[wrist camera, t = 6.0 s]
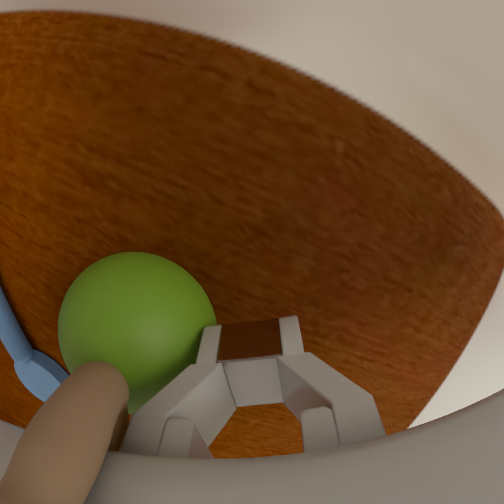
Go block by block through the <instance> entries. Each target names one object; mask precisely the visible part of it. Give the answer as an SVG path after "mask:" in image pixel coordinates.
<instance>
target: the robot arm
mask: <svg viewBox="0 0 504 504" xmlns="http://www.w3.org/2000/svg"><path fill="white" fill-rule="evenodd" d="M283 402H284V405H285V406H286V407H287V408H288V409H289V410H290V411H291V412H292V413H293V415H294V416H295V417H296V418H297V419H298V420H299V421H300V422H301V428H302V440H303V453H297V454H289V455H280V456H270V457H256V458H236V459H214V457H213V455H212V454H211V452H210V450H209V449H208V447H209V445H210V444H211V443H212V441H213V440H214V439H215V437H216V436H217V435H218V433H219V432H220V431H221V429H222V428H223V427H224V425H225V424H226V423H227V421H228V420H229V418H230V417H231V416H232V414H233V413H234V412H235V410H236V409H237V408H236V407H241V406H251V405H259V404H272V403H283ZM24 431H25V429H24V428H21V427H18V426H16V425H13V424H10V423H7V422H5V421H2V420H0V481H1V479H2V478H3V476H4V474H5V472H6V470H7V467H8V465H9V462H10V460H11V457H12V455H13V453H14V450H15V448H16V446H17V444H18V442H19V440H20V438H21V436H22V434H23V432H24ZM84 504H504V389H502V390H500V391H498V392H496V393H494V394H493V395H491V396H489V397H487V398H485V399H482V400H480V401H478V402H476V403H474V404H472V405H469V406H467V407H465V408H463V409H460V410H458V411H456V412H453V413H451V414H449V415H446V416H443V417H441V418H438V419H435V420H433V421H430V422H427V423H424V424H421V425H418V426H416V427H412V428H409V429H406V430H403V431H400V432H396V433H393V434H390V435H386V434H385V431H384V428H383V425H382V422H381V419H380V416H379V413H378V410H377V407H376V404H375V402H374V399H373V396H372V395H371V394H370V393H368V392H367V391H365V390H364V389H362V388H361V387H359V386H358V385H356V384H355V383H353V382H352V381H351V380H349V379H348V378H346V377H345V376H343V375H342V374H340V373H339V372H338V371H336V370H335V369H333V368H332V367H330V366H329V365H328V364H326V363H325V362H323V361H322V360H320V359H319V358H318V357H316V356H315V355H313V354H312V353H311V352H305V353H304V348H303V343H302V338H301V333H300V328H299V323H298V318H297V316H296V315H293V316H287V317H281V318H279V320H278V319H272V320H265V321H255V322H245V323H235V324H224V325H214V326H206V327H205V328H204V329H203V333H202V337H201V342H200V346H199V350H198V355H197V359H196V364H191V365H189V366H188V367H187V368H186V369H185V370H184V371H182V372H181V373H180V374H179V375H178V376H177V377H176V378H174V379H173V380H172V381H171V382H170V383H169V384H168V385H166V386H165V387H164V388H163V389H162V390H161V391H159V392H158V393H157V394H156V395H155V396H154V397H152V398H151V399H150V400H149V401H148V402H146V403H145V404H144V405H143V406H142V407H140V408H139V409H138V410H137V411H136V412H134V413H133V414H132V416H131V419H130V422H129V425H128V428H127V431H126V433H125V436H124V439H123V442H122V445H121V448H120V451H119V452H118V451H112V450H107V453H106V456H105V458H104V461H103V464H102V466H101V468H100V471H99V473H98V475H97V478H96V480H95V482H94V484H93V486H92V488H91V490H90V492H89V494H88V496H87V498H86V500H85V502H84Z"/></svg>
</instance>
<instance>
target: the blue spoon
mask: <svg viewBox="0 0 504 504" xmlns="http://www.w3.org/2000/svg"><path fill="white" fill-rule="evenodd" d="M0 339H1V341H2V343H3V344H4V346H5V348H6V349H7V351H8V353H9V354H10V356H11V357H12V359H13V360H14V362H15V363H14V367H15V371H16V373H17V375H18V377H19V379H20V380H21V382H22V383H23V384H24V386H25V387H26V388H27V389H28V390H29V391H30V392H31V393H32V394H34V395H35V396H36V397H37V398H39V399H40V400H42V401H44V402H45V401H46V400H47V399H48V398H49V397H50V396H51V395H52V393H53V392H54V391H55V390H56V389H57V388H58V387H59V386H60V384H61V383H62V382H63V381H64V380H65V379H66V378H67V377H68V376H69V375H68V374H67V373H66V371H65V370H64V369H63V368H62V367H61V366H60V365H59V364H58V363H57V362H55V361H54V360H53V359H52V358H50V357H49V356H47V355H46V354H44V353H42V352H40V351H37V350H34V349H33V348H32V346H31V345H30V343H29V341H28V339H27V338H26V336H25V334H24V332H23V330H22V329H21V327H20V325H19V323H18V321H17V319H16V317H15V315H14V313H13V311H12V309H11V307H10V305H9V303H8V301H7V299H6V297H5V295H4V292H3V290H2V288H1V286H0Z"/></svg>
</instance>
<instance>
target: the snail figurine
mask: <svg viewBox="0 0 504 504" xmlns="http://www.w3.org/2000/svg"><path fill="white" fill-rule="evenodd" d="M214 325H217V321H216V317H215V313H214V310H213V307H212V305H211V303H210V300H209V298H208V297H207V295H206V293H205V291H204V290H203V288H202V287H201V286H200V284H199V283H198V282H197V281H196V280H195V279H194V278H193V277H192V276H191V275H190V274H189V273H188V272H187V271H186V270H184V269H183V268H182V267H180V266H179V265H177V264H176V263H174V262H172V261H170V260H168V259H166V258H163V257H161V256H158V255H154V254H150V253H144V252H123V253H118V254H113V255H110V256H107V257H105V258H102V259H100V260H98V261H96V262H95V263H93V264H92V265H90V266H89V267H87V268H86V269H85V270H84V271H83V272H82V273H81V274H80V275H79V276H78V277H77V278H76V279H75V280H74V282H73V283H72V284H71V286H70V287H69V289H68V291H67V293H66V295H65V297H64V299H63V302H62V305H61V309H60V313H59V319H58V340H59V346H60V350H61V354H62V357H63V360H64V362H65V364H66V367H67V369H68V370H69V372H70V374H71V375H69V376H68V377H67V378H66V379H65V380H64V381H63V382H62V383H61V384H60V386H59V387H58V388H57V389H56V390H55V391H54V392H53V393H52V395H51V396H50V397H49V398H48V399H47V400H46V401H45V402H44V404H43V405H42V406H41V407H40V409H39V410H38V411H37V413H36V414H35V415H34V417H33V418H32V420H31V421H30V423H29V424H28V426H27V427H26V429H25V431H24V432H23V434H22V436H21V438H20V440H19V442H18V444H17V446H16V448H15V450H14V453H13V455H12V457H11V460H10V462H9V465H8V467H7V470H6V472H5V474H4V476H3V478H2V479H1V481H0V504H84V502H85V500H86V498H87V496H88V494H89V492H90V490H91V488H92V486H93V484H94V482H95V480H96V478H97V475H98V473H99V471H100V468H101V466H102V464H103V461H104V458H105V456H106V453H107V450H112V451H119V449H120V447H121V444H122V442H123V439H124V436H125V433H126V431H127V428H128V425H129V415H128V414H133V413H134V412H136V411H137V410H138V409H139V408H140V407H142V406H143V405H144V404H145V403H146V402H148V401H149V400H150V399H151V398H152V397H154V396H155V395H156V394H157V393H158V392H159V391H161V390H162V389H163V388H164V387H165V386H166V385H168V384H169V383H170V382H171V381H172V380H173V379H174V378H176V377H177V376H178V375H179V374H180V373H181V372H182V371H184V370H185V369H186V368H187V367H188V366H189V365H191V364H196V359H197V355H198V350H199V346H200V342H201V337H202V333H203V329H204V328H205V327H206V326H214Z"/></svg>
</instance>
